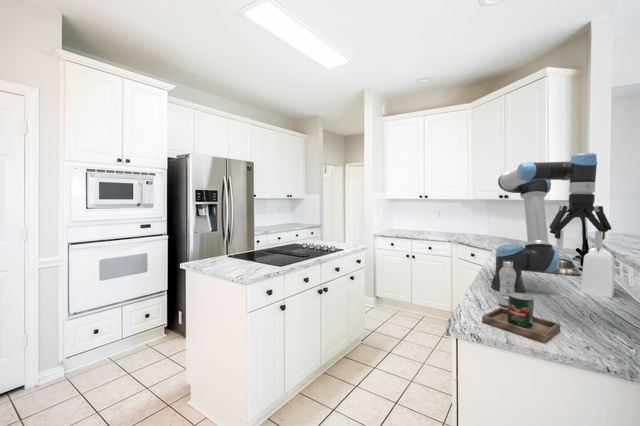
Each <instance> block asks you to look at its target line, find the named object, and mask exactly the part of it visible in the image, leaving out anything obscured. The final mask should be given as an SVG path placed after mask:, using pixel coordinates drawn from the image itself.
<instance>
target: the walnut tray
mask: <svg viewBox="0 0 640 426" xmlns="http://www.w3.org/2000/svg"><path fill="white" fill-rule="evenodd" d="M481 318H482V319H481V323H482V324H486V325H489V326H491V327H495V328H497V329H500V330H504V331H507V332H509V333H513V334H515V335H518V336H521V337H524V338H528V339H531V340H533V341H537V342H540V343H542V344H546V343H547V342H548V341H549V340H550V339H551V340H552V338H553V337H554V336H556V335H557V334H558V333H560V331H561V323H559V322H556V321H552V320H547V319H544V318H542V317H541V318H540V317H537V316H534V315H533V325H532V326H533V327H532V328H531V329H525V328H522V327H519V326H515V325H512V324H509V323H507V321H508V308H507V307H506V308H505V307H497V308H496V309H494V310H492V311H490V312H488V313H486V314H483V315H482V316H481Z"/></svg>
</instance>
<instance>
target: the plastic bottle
mask: <svg viewBox="0 0 640 426" xmlns="http://www.w3.org/2000/svg"><path fill="white" fill-rule="evenodd" d="M503 265H504V266H503V267H502V268H501V269H500V271H499V277H500V291H498V292H499V293H498V296H497V300H498V303H499V304H500V305H501V306H503V307H506V308H508V301H509V293H513V292H514V286H515V280H516V272H515V270H514V269H513V267H512V266H513V262H512V261H503Z"/></svg>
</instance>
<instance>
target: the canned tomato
mask: <svg viewBox="0 0 640 426" xmlns="http://www.w3.org/2000/svg"><path fill="white" fill-rule="evenodd" d="M534 303H535V297H534V296H532V295H530V294H527V293H525V292H524V293H516V292H513V293H509V301H508V307H507V309H508V321H507V323H509V324H512V325H515V326H519V327H522V328H525V329H531V328H532V327H533V326H532V325H533V316H534V305H535V304H534Z"/></svg>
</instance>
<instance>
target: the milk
mask: <svg viewBox="0 0 640 426" xmlns="http://www.w3.org/2000/svg"><path fill="white" fill-rule="evenodd" d="M603 244H604V241H602V249H599V248H595V247H594V248H593V247H592V248H590V249H588V250H587V251H588V252H587V253H586V254H584V256H583V263H582V273H581V281H580V283H581V284H580V293H584V294H588V295H589V294H590V295H595V296H599V297H600V296H601V297H605V298H613V296H614V295H615V256H614V255H613V254H612V253H611V252H610V251H608V250H607V249H606V248H604V246H603Z"/></svg>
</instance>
